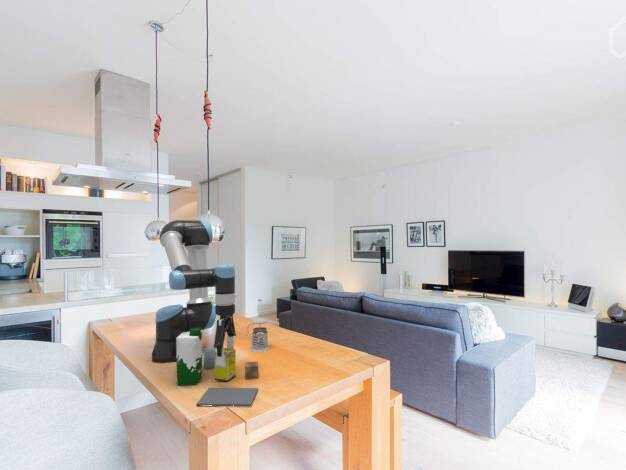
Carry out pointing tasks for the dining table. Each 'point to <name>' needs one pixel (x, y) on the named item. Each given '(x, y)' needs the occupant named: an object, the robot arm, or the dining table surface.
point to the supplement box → (226, 366)
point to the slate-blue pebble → (209, 358)
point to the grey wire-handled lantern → (259, 336)
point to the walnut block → (251, 370)
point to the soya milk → (189, 357)
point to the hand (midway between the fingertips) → (225, 358)
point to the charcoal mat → (228, 397)
